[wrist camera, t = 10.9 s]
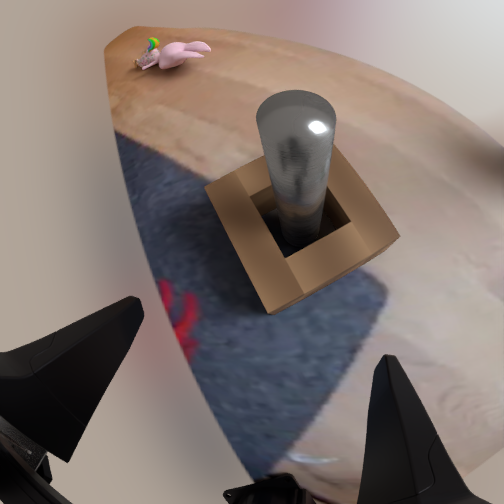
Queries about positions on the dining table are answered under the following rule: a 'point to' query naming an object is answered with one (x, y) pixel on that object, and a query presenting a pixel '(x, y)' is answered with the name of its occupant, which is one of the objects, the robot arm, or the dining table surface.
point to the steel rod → (298, 159)
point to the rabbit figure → (170, 54)
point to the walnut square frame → (313, 256)
